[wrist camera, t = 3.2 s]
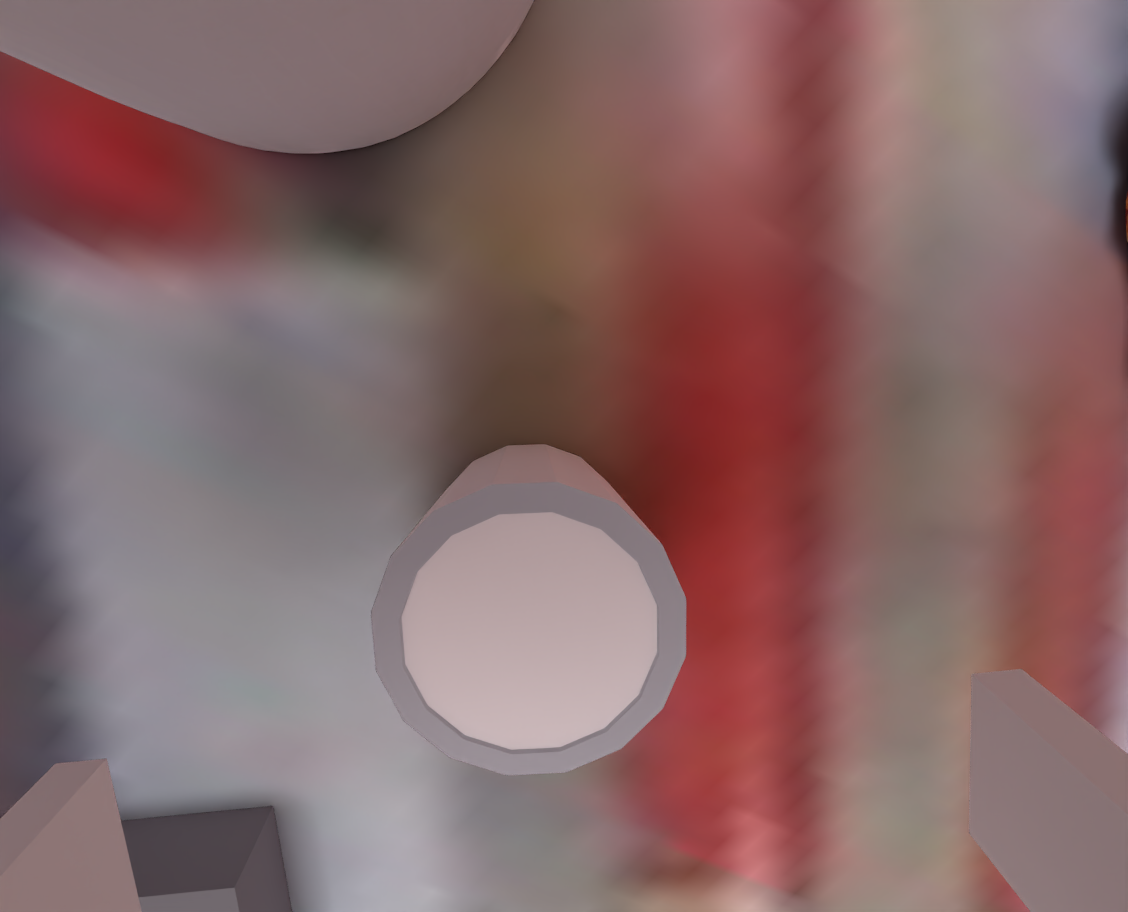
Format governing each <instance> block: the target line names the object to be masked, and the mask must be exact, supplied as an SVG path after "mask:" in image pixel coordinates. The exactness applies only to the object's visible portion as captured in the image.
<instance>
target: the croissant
mask: <svg viewBox="0 0 1128 912" xmlns="http://www.w3.org/2000/svg"><path fill="white" fill-rule="evenodd" d="M1126 233H1127V242H1128V193H1127V198H1126Z"/></svg>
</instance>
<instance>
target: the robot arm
mask: <svg viewBox="0 0 1128 912" xmlns="http://www.w3.org/2000/svg"><path fill="white" fill-rule="evenodd" d="M969 834H970V835H971V836H972V837H973V839H974V840H975V841H976V843H977V844H978V845H979V846H980V848H981V849H982V850H983V851H984V853H985V854H986V855H987V857H988V858H989V859H990V860H991V862H992V863H993V864H994V866H995V867H996V868H997V869H998V871H999V872H1000V873H1001V874H1002V876H1003V877H1004V878H1005V880H1006V881H1007V882H1008V883H1009V885H1010V886H1011V887H1012V888H1013V890H1014V891H1015V892H1016V894H1017V895H1018V896H1019V897H1020V899H1021V900H1022V901H1023V903H1024V904H1025V905H1026V906H1027V908H1028V909H1029V910H1030V911H1031V912H1128V754H1127V753H1126V752H1125V751H1123V750H1122V749H1121V748H1120V747H1118V746H1117V745H1116V744H1115V743H1113V742H1112V741H1111V740H1110V739H1108V738H1107V737H1106V736H1105V735H1103V734H1102V733H1101V732H1100V731H1098V730H1097V729H1096V728H1095V727H1093V726H1092V725H1091V724H1090V723H1088V722H1087V721H1086V720H1085V719H1083V718H1082V717H1081V716H1080V715H1078V714H1077V713H1076V712H1075V711H1073V710H1072V709H1071V708H1070V707H1068V706H1067V705H1066V704H1065V703H1063V702H1062V701H1061V700H1059V699H1058V698H1057V697H1056V696H1054V695H1053V694H1052V693H1051V692H1049V691H1048V690H1047V689H1046V688H1044V687H1043V686H1042V685H1041V684H1039V683H1038V682H1037V681H1036V680H1034V679H1033V678H1032V677H1031V676H1029V675H1028V674H1027V673H1026V672H1024V671H1023V670H1022V669H1017V670H1007V671H996V672H986V673H976V674H972V682H971V741H970V800H969ZM0 912H142V911H141V906H140V902H139V898H138V893H137V889H136V885H135V880H134V876H133V872H132V867H131V863H130V858H129V854H128V850H127V845H126V841H125V837H124V832H123V828H122V824H121V819H120V815H119V811H118V806H117V802H116V798H115V793H114V789H113V784H112V780H111V776H110V771H109V767H108V763H107V759H98V760H88V761H77V762H67V763H57V764H55V765H54V766H53V767H52V768H51V769H50V770H49V771H48V772H47V773H46V774H45V775H44V776H43V777H42V778H41V779H40V780H39V781H38V782H37V783H36V784H35V785H34V786H33V787H32V788H31V789H30V790H29V791H28V792H27V793H26V794H25V795H24V796H23V797H22V798H21V799H20V800H19V801H18V802H17V803H16V804H15V805H14V806H13V807H12V808H11V809H10V810H9V811H8V812H7V813H6V814H4V815H3V816H2V817H1V818H0Z"/></svg>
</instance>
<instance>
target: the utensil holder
mask: <svg viewBox="0 0 1128 912" xmlns="http://www.w3.org/2000/svg"><path fill="white" fill-rule="evenodd" d="M533 2H534V0H0V51H1V52H3V53H6V54H8V55H10V56H12V57H15V58H17V59H19V60H21V61H24V62H26V63H28V64H30V65H33V66H35V67H37V68H40V69H42V70H44V71H46V72H49V73H51V74H53V75H55V76H58V77H60V78H62V79H64V80H67V81H69V82H71V83H74V84H76V85H78V86H80V87H83V88H85V89H87V90H90V91H92V92H94V93H96V94H99V95H101V96H103V97H106V98H108V99H111V100H113V101H116V102H118V103H121V104H123V105H126V106H129V107H131V108H134V109H136V110H139V111H141V112H144V113H147V114H150V115H152V116H155V117H158V118H160V119H163V120H166V121H169V122H172V123H175V124H178V125H181V126H184V127H186V128H189V129H192V130H194V131H197V132H200V133H203V134H206V135H208V136H211V137H214V138H217V139H220V140H223V141H227V142H230V143H234V144H237V145H241V146H246V147H250V148H255V149H260V150H265V151H275V152H285V153H329V152H337V151H344V150H350V149H356V148H362V147H367V146H370V145H373V144H376V143H379V142H382V141H386V140H389V139H392V138H395V137H397V136H399V135H401V134H403V133H406V132H408V131H410V130H412V129H414V128H416V127H418V126H420V125H422V124H423V123H425V122H427V121H428V120H430V119H432V118H433V117H435V116H437V115H438V114H440V113H441V112H442V111H444V110H445V109H446V108H448V107H449V106H450V105H452V104H453V103H454V102H456V101H457V100H458V99H459V98H460V97H462V96H463V95H464V94H465V93H466V92H468V91H469V90H470V89H471V88H472V87H473V86H474V85H475V84H476V83H477V82H478V81H479V80H480V79H481V78H482V77H483V76H484V75H485V74H486V72H487V71H488V70H489V69H490V68H491V67H492V65H493V64H494V63H495V62H496V61H497V60H498V58H499V57H500V56H501V54H502V53H503V52H504V50H505V49H506V47H507V46H508V45H509V43H510V42H511V40H512V39H513V38H514V36H515V35H516V33H517V31H518V30H519V28H520V26H521V24H522V23H523V21H524V19H525V17H526V15H527V13H528V11H529V9H530V7H531V5H532V4H533Z"/></svg>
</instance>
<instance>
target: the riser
mask: <svg viewBox="0 0 1128 912" xmlns="http://www.w3.org/2000/svg"><path fill="white" fill-rule="evenodd" d="M121 824H122V828H123V832H124V837H125V841H126V845H127V850H128V854H129V858H130V863H131V867H132V872H133V876H134V880H135V885H136V889H137V893H138V898H139V902H140V906H141V911H142V912H292V909H291V903H290V898H289V892H288V886H287V881H286V875H285V869H284V864H283V858H282V853H281V847H280V841H279V836H278V830H277V824H276V819H275V813H274V808H273V806H267V807H257V808H247V809H236V810H226V811H216V812H206V813H195V814H185V815H175V816H165V817H154V818H144V819H134V820H123V821H121Z"/></svg>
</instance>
